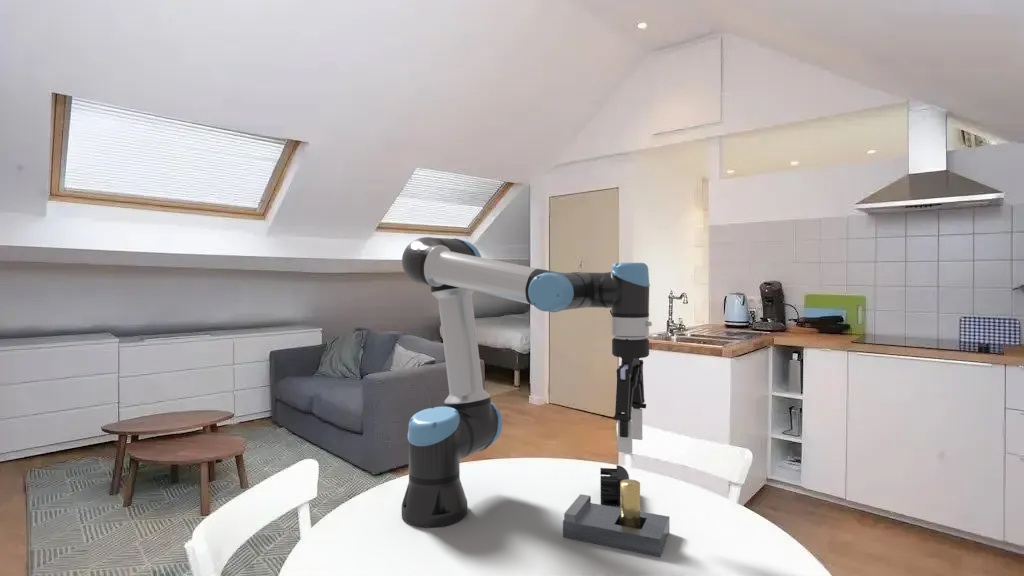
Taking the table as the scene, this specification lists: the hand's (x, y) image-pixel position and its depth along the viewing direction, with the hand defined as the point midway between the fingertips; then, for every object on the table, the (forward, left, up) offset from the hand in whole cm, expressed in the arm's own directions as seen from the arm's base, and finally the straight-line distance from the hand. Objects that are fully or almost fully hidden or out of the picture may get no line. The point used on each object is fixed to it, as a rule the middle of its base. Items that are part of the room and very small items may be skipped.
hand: (630, 445), depth 115 cm
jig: (-3, 0, -19) cm, 20 cm away
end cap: (-8, +18, -20) cm, 28 cm away
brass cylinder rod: (0, 0, -18) cm, 18 cm away
